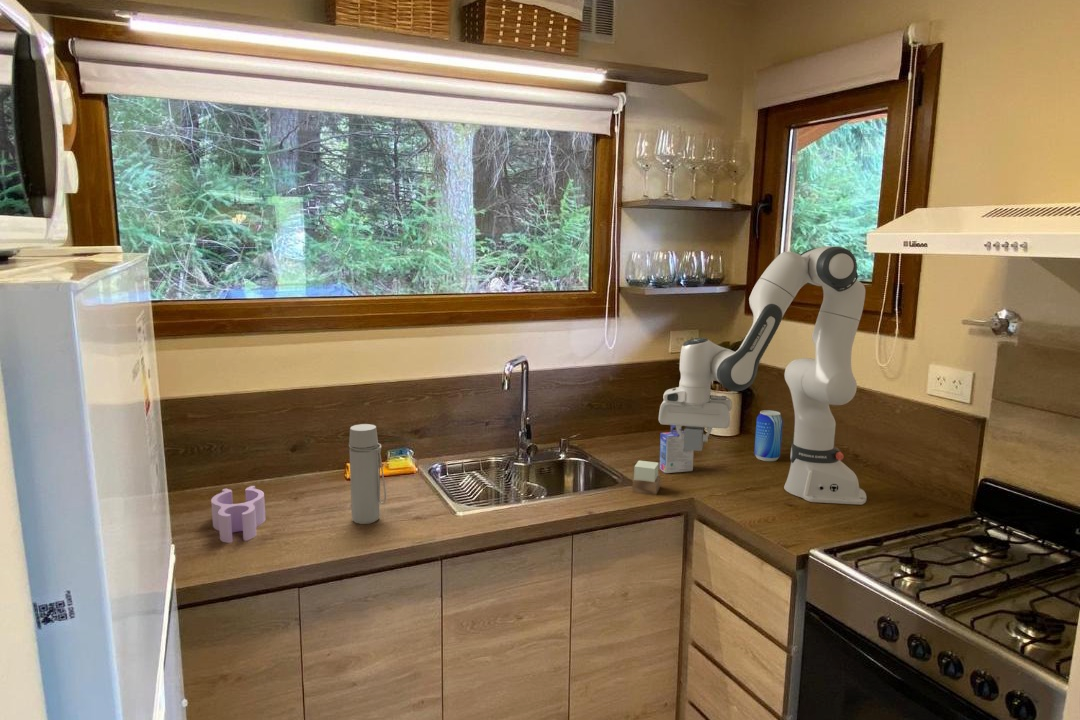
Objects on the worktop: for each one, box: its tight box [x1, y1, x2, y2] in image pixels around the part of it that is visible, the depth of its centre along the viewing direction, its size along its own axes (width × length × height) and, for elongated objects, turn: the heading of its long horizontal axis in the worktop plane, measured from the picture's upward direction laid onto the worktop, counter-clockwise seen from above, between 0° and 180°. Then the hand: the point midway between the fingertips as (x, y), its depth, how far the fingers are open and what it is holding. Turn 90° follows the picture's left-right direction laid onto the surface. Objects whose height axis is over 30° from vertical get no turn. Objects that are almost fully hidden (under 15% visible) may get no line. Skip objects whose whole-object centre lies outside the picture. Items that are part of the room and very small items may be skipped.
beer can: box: [753, 409, 784, 462], centre depth 238 cm, size 8×8×16 cm
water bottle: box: [348, 423, 387, 525], centre depth 181 cm, size 9×8×25 cm
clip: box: [210, 485, 266, 544], centre depth 178 cm, size 20×12×7 cm, turn 21°
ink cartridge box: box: [659, 425, 694, 474], centre depth 225 cm, size 10×6×14 cm, turn 106°
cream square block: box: [633, 460, 660, 482], centre depth 207 cm, size 6×6×4 cm
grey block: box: [683, 426, 704, 452], centre depth 204 cm, size 5×5×6 cm
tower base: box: [631, 474, 661, 496], centre depth 208 cm, size 7×7×4 cm
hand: (693, 440), depth 204 cm, fingers closed on grey block, 5 cm apart
